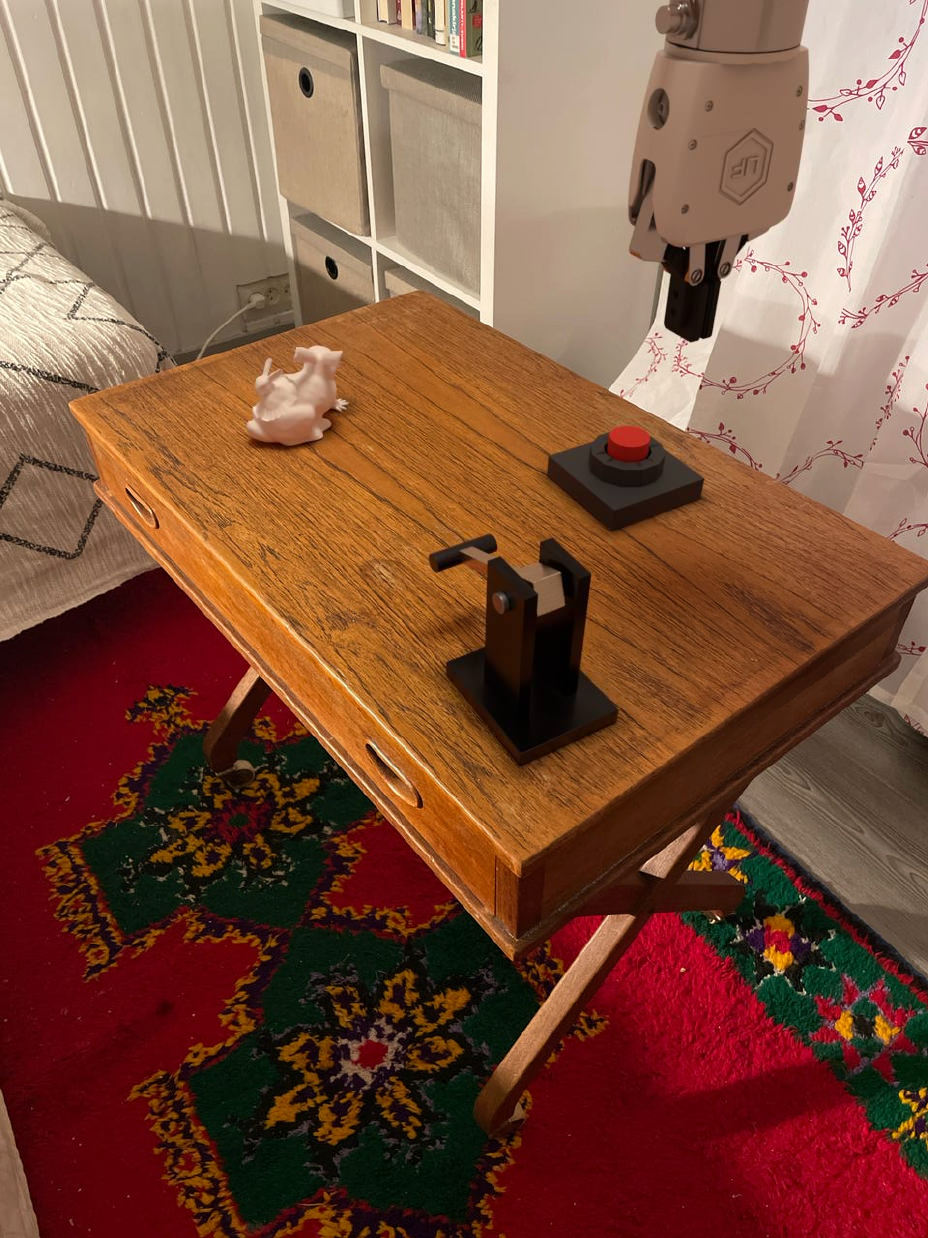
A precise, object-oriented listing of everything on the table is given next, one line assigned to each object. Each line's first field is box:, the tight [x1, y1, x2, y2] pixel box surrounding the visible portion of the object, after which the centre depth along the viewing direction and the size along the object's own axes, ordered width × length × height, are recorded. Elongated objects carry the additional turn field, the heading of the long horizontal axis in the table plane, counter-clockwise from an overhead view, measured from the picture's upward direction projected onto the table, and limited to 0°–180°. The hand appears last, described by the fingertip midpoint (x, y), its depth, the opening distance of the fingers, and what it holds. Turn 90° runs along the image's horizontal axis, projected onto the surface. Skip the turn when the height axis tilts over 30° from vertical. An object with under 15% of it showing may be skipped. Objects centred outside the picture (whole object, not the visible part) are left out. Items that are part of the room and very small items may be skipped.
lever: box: [428, 533, 565, 617], centre depth 66 cm, size 12×5×2 cm, turn 30°
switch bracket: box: [445, 537, 619, 766], centre depth 65 cm, size 10×8×12 cm
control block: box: [546, 431, 705, 532], centre depth 87 cm, size 10×10×4 cm
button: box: [607, 425, 651, 462], centre depth 86 cm, size 4×4×2 cm
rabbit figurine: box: [246, 345, 350, 446], centre depth 92 cm, size 12×8×10 cm, turn 125°
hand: (687, 332), depth 66 cm, fingers closed
